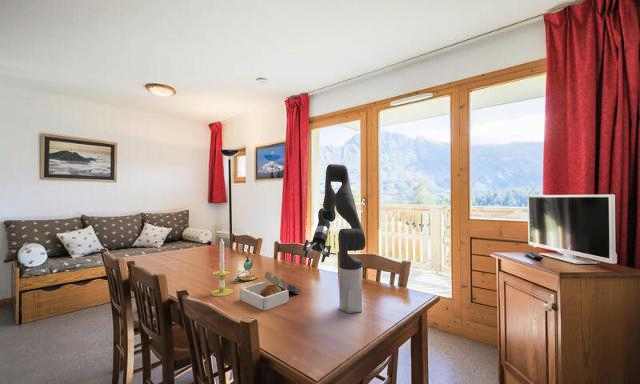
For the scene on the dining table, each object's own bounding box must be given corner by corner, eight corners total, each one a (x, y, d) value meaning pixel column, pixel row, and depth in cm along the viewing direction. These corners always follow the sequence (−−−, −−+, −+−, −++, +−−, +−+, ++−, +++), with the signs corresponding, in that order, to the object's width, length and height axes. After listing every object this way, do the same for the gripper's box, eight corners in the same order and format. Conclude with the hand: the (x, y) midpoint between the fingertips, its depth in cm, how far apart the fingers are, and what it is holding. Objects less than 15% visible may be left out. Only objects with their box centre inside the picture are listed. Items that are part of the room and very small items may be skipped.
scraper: (283, 284, 141) (260, 269, 130) (300, 289, 134) (277, 274, 122) (281, 289, 140) (257, 275, 129) (298, 295, 132) (274, 280, 121)
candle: (225, 297, 129) (225, 239, 129) (206, 295, 131) (206, 238, 131) (236, 289, 139) (236, 235, 139) (218, 288, 141) (218, 235, 141)
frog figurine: (226, 281, 153) (229, 254, 155) (255, 278, 165) (257, 252, 167) (235, 285, 146) (237, 256, 148) (264, 281, 159) (266, 255, 160)
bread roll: (283, 304, 130) (285, 286, 133) (277, 303, 120) (280, 283, 124) (263, 303, 131) (265, 285, 135) (255, 301, 122) (258, 282, 125)
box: (263, 291, 136) (263, 281, 136) (288, 301, 124) (288, 290, 124) (239, 299, 127) (239, 288, 127) (264, 310, 114) (264, 298, 114)
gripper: (308, 228, 152) (300, 251, 140) (334, 234, 151) (328, 258, 139) (307, 237, 157) (300, 260, 145) (332, 243, 156) (326, 267, 144)
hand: (313, 259), depth 142 cm, fingers open, 8 cm apart
